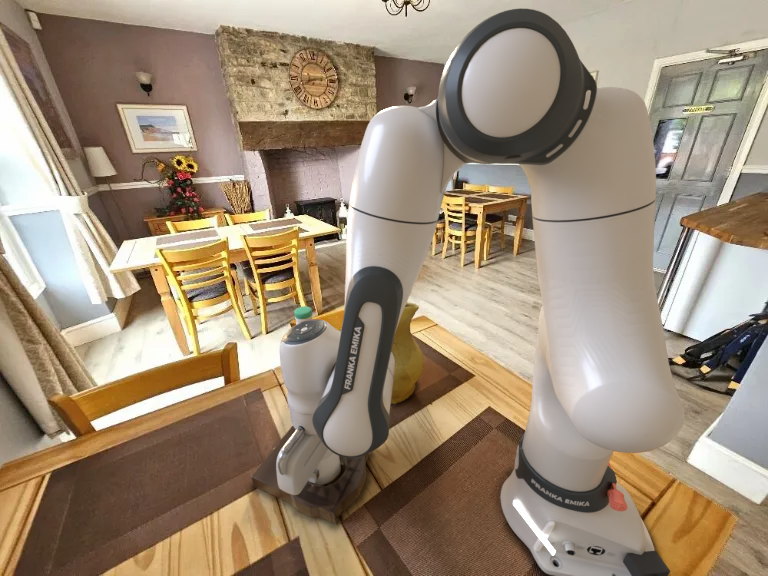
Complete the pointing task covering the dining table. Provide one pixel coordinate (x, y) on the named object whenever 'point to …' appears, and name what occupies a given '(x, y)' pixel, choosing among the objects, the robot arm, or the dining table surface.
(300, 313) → the milk bottle
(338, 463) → the eye dropper bottle
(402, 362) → the pitcher
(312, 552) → the dining table surface
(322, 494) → the grey ring plate
